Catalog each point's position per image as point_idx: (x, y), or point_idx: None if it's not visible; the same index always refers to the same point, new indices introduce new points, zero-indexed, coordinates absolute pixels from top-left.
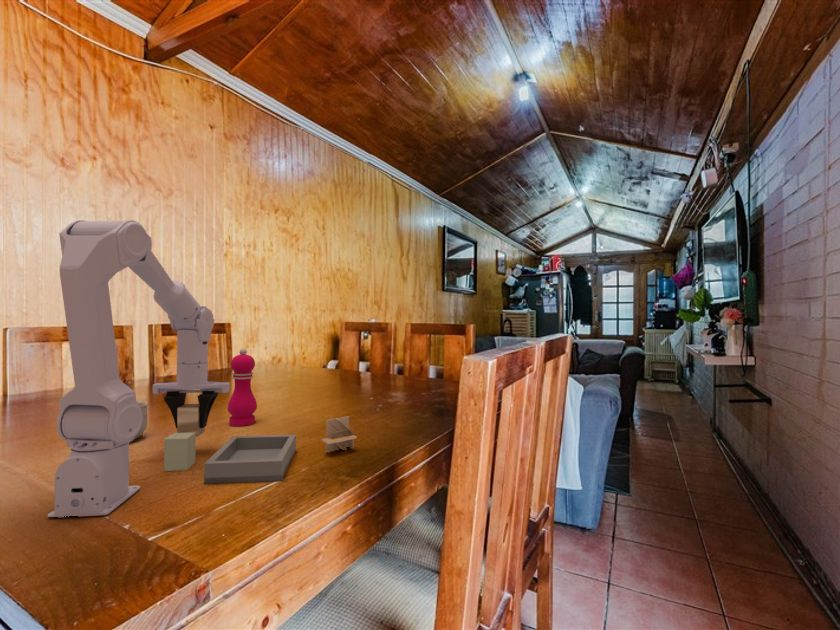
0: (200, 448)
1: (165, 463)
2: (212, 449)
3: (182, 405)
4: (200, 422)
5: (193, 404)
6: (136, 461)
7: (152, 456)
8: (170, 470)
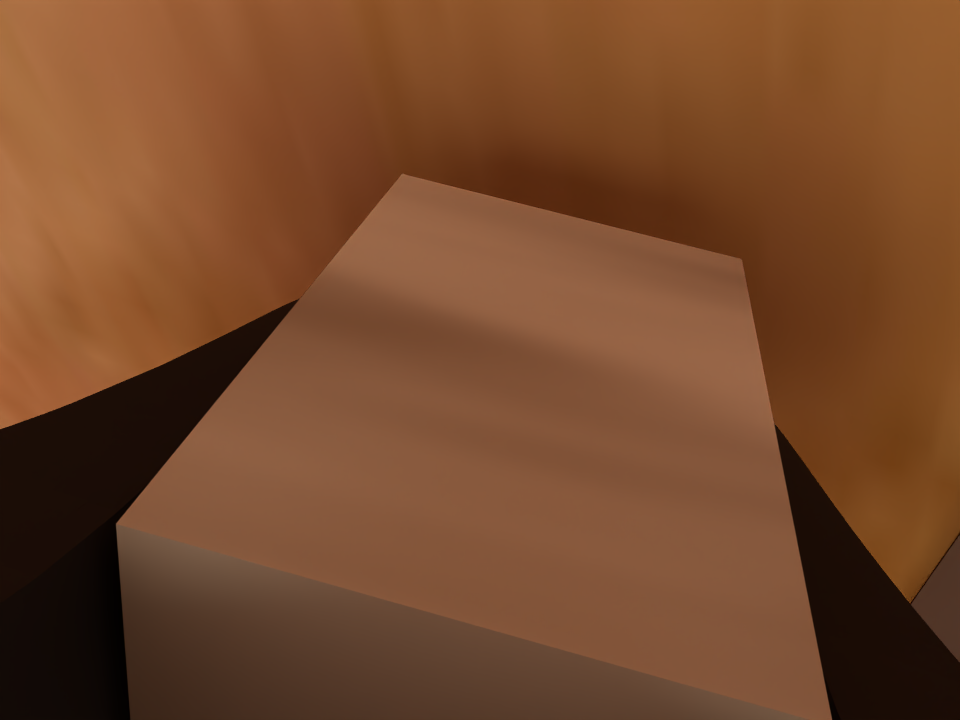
0: (661, 80)
1: None
2: (821, 185)
3: (131, 705)
4: None
5: (422, 706)
6: (98, 319)
7: (175, 217)
8: None
